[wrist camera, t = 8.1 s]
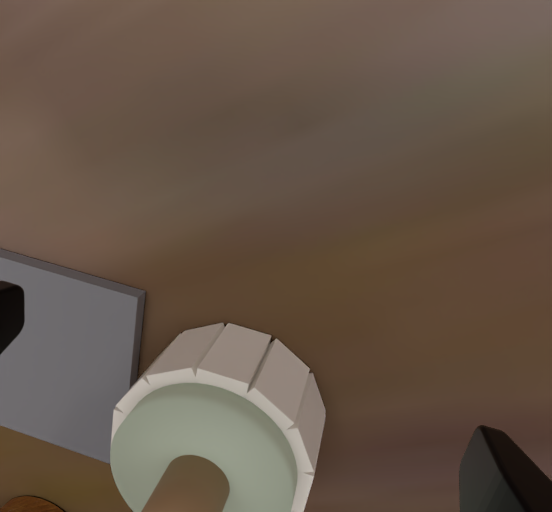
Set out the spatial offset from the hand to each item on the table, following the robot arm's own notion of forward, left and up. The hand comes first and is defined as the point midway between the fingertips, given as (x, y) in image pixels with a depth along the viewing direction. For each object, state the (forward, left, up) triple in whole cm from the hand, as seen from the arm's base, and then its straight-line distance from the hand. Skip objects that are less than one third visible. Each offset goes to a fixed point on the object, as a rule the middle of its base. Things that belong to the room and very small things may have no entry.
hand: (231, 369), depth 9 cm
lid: (+2, +11, -8) cm, 14 cm away
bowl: (+2, +11, -12) cm, 16 cm away
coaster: (+13, +12, -12) cm, 21 cm away
